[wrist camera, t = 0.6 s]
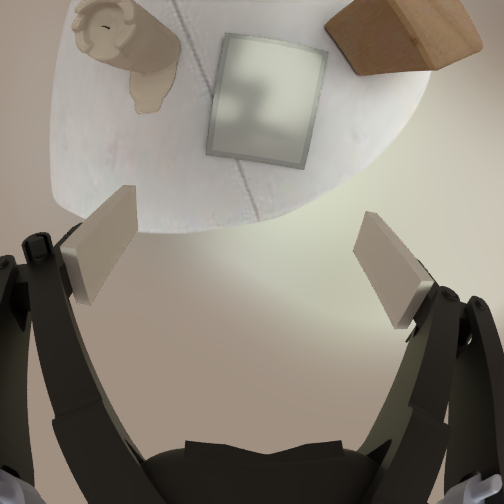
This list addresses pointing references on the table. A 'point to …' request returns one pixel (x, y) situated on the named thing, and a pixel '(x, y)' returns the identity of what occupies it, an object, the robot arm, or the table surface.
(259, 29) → the table surface
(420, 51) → the wooden block
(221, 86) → the grey flat block
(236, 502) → the robot arm
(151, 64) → the candle
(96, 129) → the table surface
